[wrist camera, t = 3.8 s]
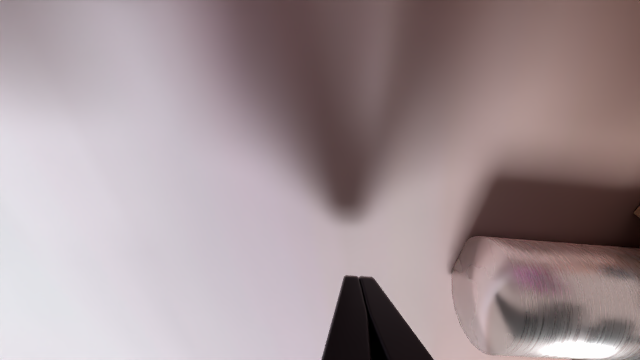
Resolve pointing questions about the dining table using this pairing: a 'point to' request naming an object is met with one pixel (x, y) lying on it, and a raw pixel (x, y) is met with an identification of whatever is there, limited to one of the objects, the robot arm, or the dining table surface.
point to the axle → (549, 298)
